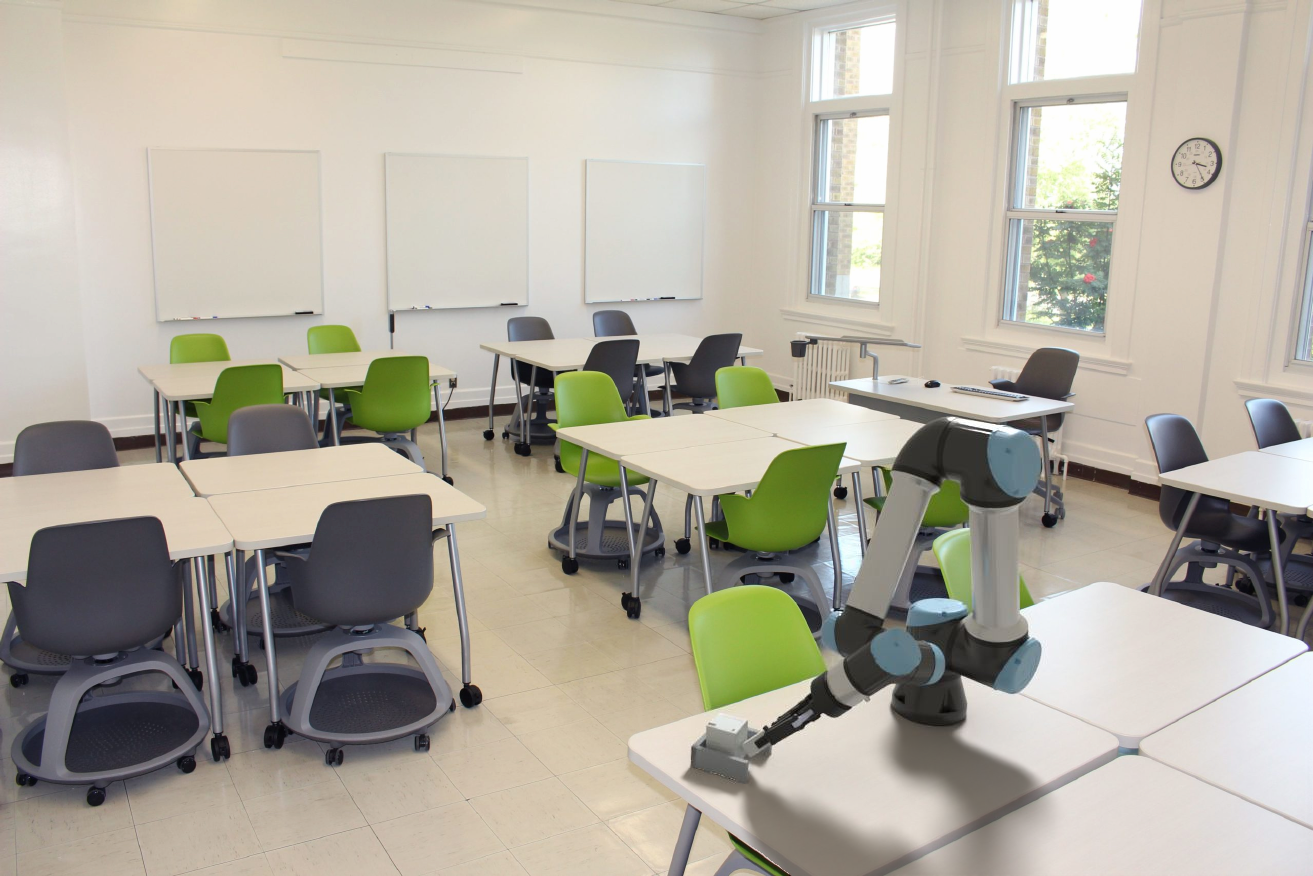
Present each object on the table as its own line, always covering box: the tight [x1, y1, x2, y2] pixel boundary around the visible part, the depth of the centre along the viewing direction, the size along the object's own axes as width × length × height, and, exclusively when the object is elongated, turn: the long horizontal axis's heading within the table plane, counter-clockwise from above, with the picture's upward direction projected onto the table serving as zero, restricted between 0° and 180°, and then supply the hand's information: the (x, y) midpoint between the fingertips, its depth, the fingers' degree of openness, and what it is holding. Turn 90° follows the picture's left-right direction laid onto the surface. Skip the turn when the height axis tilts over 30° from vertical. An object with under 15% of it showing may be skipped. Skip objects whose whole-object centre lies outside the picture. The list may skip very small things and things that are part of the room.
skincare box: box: [705, 712, 749, 760], centre depth 187 cm, size 6×6×7 cm
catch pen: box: [690, 726, 773, 784], centre depth 187 cm, size 12×11×4 cm
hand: (747, 749), depth 185 cm, fingers closed
